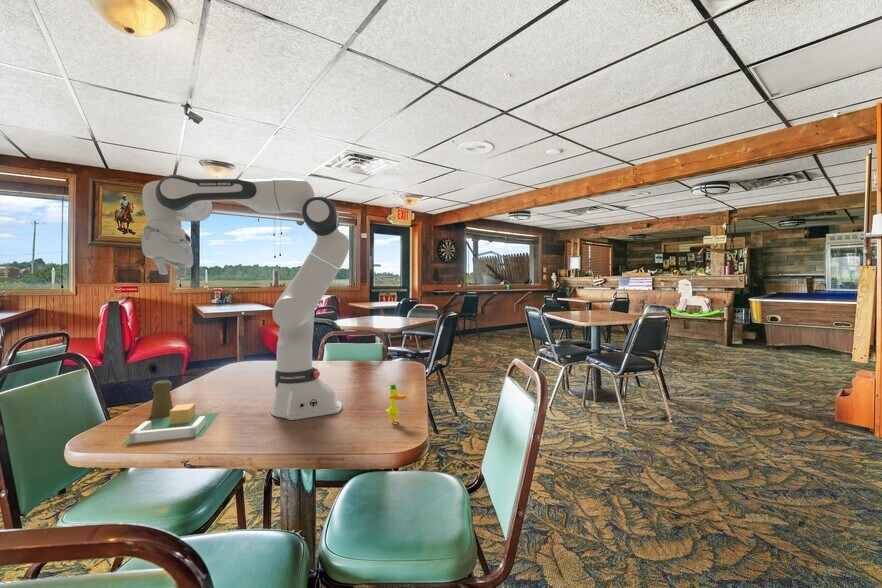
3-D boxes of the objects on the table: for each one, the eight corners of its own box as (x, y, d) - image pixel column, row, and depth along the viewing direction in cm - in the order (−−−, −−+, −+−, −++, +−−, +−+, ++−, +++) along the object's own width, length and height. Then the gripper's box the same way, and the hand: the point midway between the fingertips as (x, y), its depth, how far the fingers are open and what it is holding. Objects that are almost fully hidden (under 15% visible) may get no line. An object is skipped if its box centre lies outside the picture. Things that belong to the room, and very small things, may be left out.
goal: (205, 424, 111) (205, 415, 111) (195, 436, 102) (195, 427, 102) (145, 430, 106) (145, 421, 106) (129, 443, 97) (129, 433, 97)
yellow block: (195, 415, 118) (195, 403, 118) (189, 422, 112) (189, 409, 112) (176, 417, 116) (176, 404, 116) (169, 424, 111) (169, 411, 111)
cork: (161, 419, 116) (160, 384, 116) (145, 417, 117) (145, 382, 117) (178, 412, 122) (178, 379, 121) (163, 411, 123) (162, 378, 123)
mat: (219, 413, 121) (219, 412, 121) (201, 437, 102) (201, 436, 102) (153, 419, 115) (153, 418, 115) (121, 445, 97) (121, 444, 97)
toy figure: (406, 421, 116) (407, 382, 116) (406, 425, 113) (406, 386, 112) (385, 421, 116) (385, 382, 116) (383, 425, 112) (384, 386, 112)
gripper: (155, 221, 105) (163, 268, 104) (194, 239, 125) (201, 279, 124) (131, 225, 104) (139, 273, 103) (174, 243, 125) (181, 283, 123)
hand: (173, 276), depth 114 cm, fingers open, 8 cm apart
